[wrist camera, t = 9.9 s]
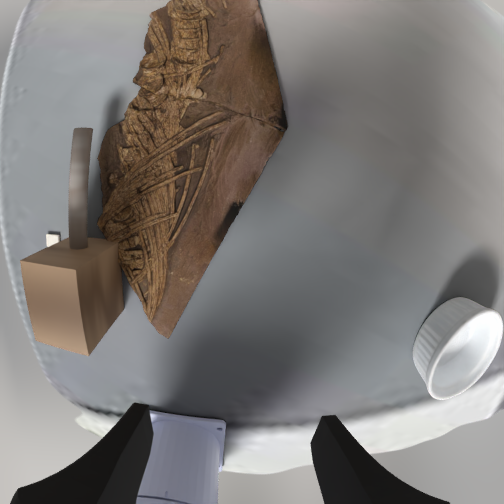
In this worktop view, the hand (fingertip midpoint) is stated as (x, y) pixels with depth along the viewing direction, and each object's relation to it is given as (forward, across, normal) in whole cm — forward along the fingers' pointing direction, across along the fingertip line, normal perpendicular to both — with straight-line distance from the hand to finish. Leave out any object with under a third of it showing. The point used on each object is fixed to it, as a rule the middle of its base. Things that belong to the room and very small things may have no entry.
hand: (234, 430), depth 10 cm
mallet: (+9, +10, -6) cm, 15 cm away
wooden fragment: (+10, +4, -11) cm, 15 cm away
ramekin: (+10, -19, +1) cm, 21 cm away
